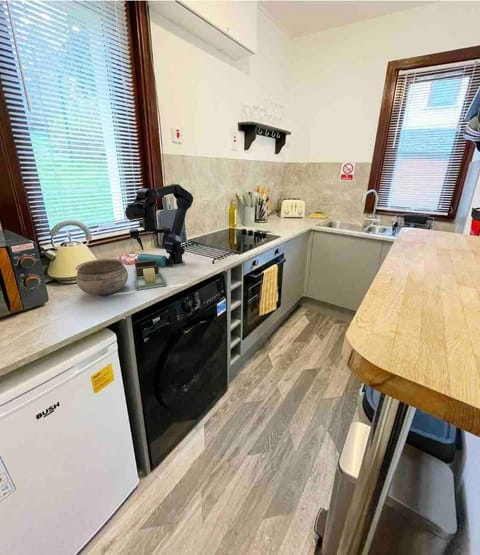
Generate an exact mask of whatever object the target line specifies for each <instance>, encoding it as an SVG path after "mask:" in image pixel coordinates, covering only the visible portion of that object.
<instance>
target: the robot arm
mask: <svg viewBox="0 0 480 555" xmlns="http://www.w3.org/2000/svg"><path fill="white" fill-rule="evenodd" d="M169 195H173V198H175V200H176V201H175V203H176V207H177V208H176V212H175V216H174V219H173V223H172V227H170V226H161V228H157V220H156V219H157V218H156V208H155V207H158V206H159V205H158V203H157V202H155V201H157V200H158V199H159V198H162V197H165V196H169ZM193 203H194V195H193V194H192V193H191V192H190V191H188V190H187V189H185V188H184V187H183V186H181V185H180V184H179V183H171V184H168V185H163V186H159V187H154V188H145V187H142V188H139V189H137V193H136V196H135V198H134V200H133V203H127V204H126V207H125V211H124V215H125V217H126V219H128V220H129V221H135V220H139V221H138V226H139V228H140V229H141V230H139V228H131V229H129V231H128V232H129V237H130V238H131V239H132V238H133V240H136V241H137V243H138V244H139V246H140V248H141V250H142V251H144V250H145V249H144V246H143V242H142V239H141V235H152V234H161V235H160V236H161V249H164V250H165V252H166V254H169V255H168V256H167V258H172V259H173V260H174V263H173V265H180V264H183V262H184V260H183V255H184V254H185V253H186V252H185V251H186V250H185V248H184V247H182V240H181V235H182V229H183V226H184V222H185V219H186V215H187V212H188V210H189V209H190V208H191V207H192V205H193ZM141 219H142V220H141ZM142 229H143V230H142Z"/></svg>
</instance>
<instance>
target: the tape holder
mask: <svg viewBox="0 0 480 555" xmlns="http://www.w3.org/2000/svg"><path fill="white" fill-rule="evenodd" d="M134 268H135V272H136V273H135V274H136V277H141V276H144V275H143V269H147V268H154V271H155V275H156V274H160V271H159V266H158V265H157V266H156V260H151V261H142V262H137V261H135V262H134Z"/></svg>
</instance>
